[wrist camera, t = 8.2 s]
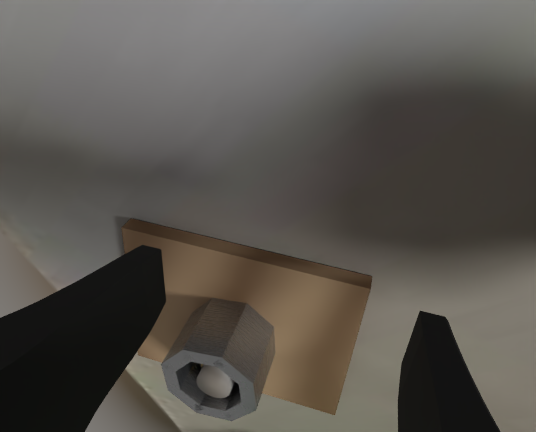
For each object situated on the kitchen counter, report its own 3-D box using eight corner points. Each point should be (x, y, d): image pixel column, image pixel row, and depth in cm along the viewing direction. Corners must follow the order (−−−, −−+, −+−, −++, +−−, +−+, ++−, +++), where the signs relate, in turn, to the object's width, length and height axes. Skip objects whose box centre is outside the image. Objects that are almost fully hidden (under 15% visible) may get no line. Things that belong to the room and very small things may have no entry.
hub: (272, 307, 25) (251, 363, 21) (276, 369, 27) (257, 427, 24) (188, 293, 26) (155, 344, 23) (200, 353, 29) (172, 407, 25)
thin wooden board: (372, 276, 23) (363, 340, 19) (337, 401, 29) (325, 468, 25) (130, 218, 26) (83, 265, 22) (145, 344, 32) (109, 397, 28)
